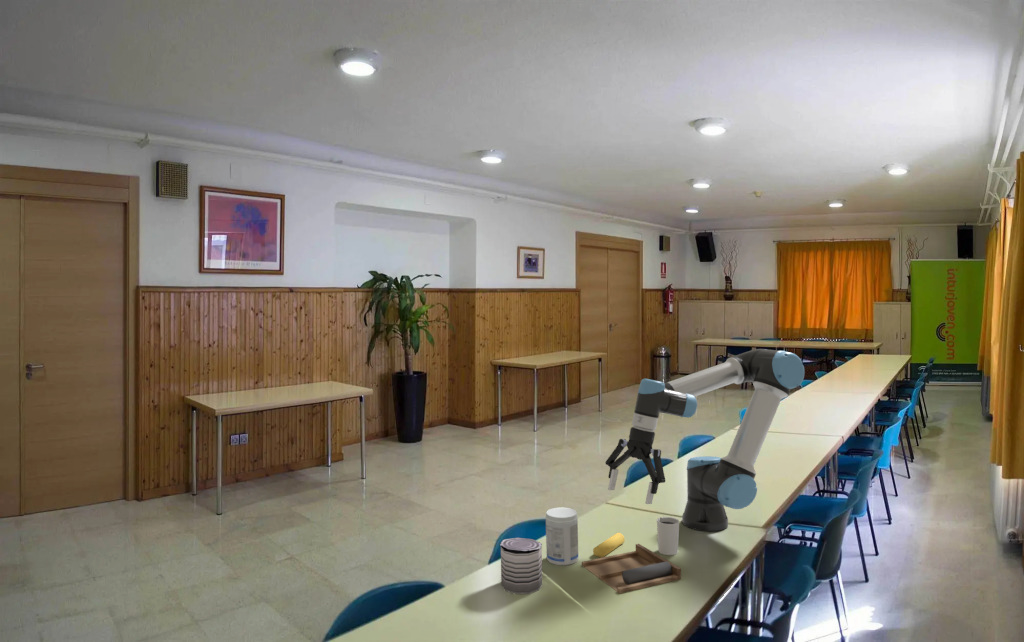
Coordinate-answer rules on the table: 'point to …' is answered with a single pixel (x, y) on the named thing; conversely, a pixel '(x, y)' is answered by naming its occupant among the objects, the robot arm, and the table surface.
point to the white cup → (668, 535)
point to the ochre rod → (608, 545)
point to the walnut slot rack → (615, 565)
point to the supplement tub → (562, 536)
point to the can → (521, 565)
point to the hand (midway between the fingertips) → (629, 496)
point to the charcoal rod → (646, 572)
